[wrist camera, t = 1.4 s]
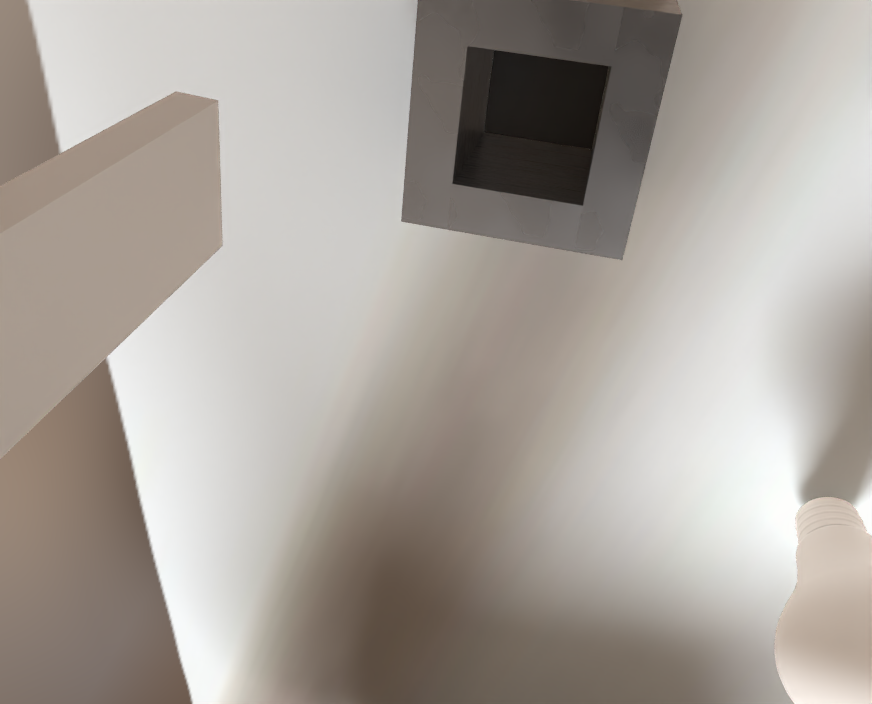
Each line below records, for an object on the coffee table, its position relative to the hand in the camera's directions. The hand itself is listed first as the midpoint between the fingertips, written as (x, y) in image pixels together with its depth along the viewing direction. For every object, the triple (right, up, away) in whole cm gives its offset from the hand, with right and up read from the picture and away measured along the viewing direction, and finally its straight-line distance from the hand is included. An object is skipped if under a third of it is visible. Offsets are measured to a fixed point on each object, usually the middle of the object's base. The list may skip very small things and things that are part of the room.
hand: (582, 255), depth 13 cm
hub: (+1, +8, +14) cm, 16 cm away
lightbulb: (+14, -8, +21) cm, 27 cm away
